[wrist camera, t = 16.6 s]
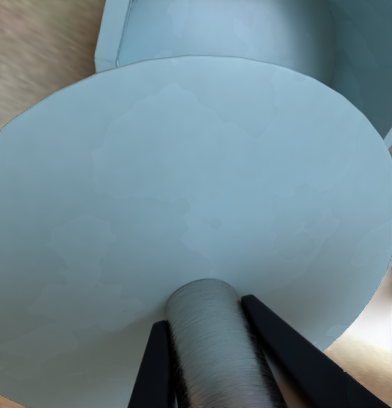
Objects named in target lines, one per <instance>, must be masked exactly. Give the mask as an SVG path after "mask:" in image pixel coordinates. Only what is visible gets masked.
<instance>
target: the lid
mask: <svg viewBox="0 0 392 408" xmlns="http://www.w3.org/2000/svg"><path fill="white" fill-rule="evenodd" d="M391 258H392V158H391V156H390V153H389V151H388V149H387V147H386V145H385V143H384V141H383V139H382V137H381V136H380V135H379V133H378V132H377V131H376V129H375V128H374V127H373V125H372V124H371V123H370V122H369V120H368V119H367V118H366V116H365V115H364V114H363V113H362V112H361V111H359V110H358V109H357V108H356V107H355V106H354V105H353V104H352V103H350V102H349V101H348V100H347V99H346V98H345V97H344V96H343V95H341V94H339V93H338V92H336V91H334V90H333V89H331V88H330V87H328V86H326V85H325V84H323V83H321V82H320V81H318V80H316V79H315V78H312V77H310V76H307V75H305V74H302V73H299V72H297V71H294V70H292V69H289V68H286V67H284V66H281V65H278V64H273V63H268V62H263V61H258V60H253V59H248V58H243V57H237V56H214V55H181V56H172V57H163V58H154V59H146V60H141V61H138V62H134V63H130V64H127V65H123V66H119V67H115V68H112V69H108V70H104V71H101V72H98V73H96V74H94V75H91V76H89V77H87V78H84V79H82V80H80V81H78V82H75V83H73V84H71V85H68V86H66V87H64V88H62V89H59V90H57V91H55V92H54V93H52V94H50V95H49V96H47V97H46V98H44V99H43V100H41V101H40V102H38V103H36V104H35V105H33V106H32V107H30V108H29V109H27V110H25V111H24V112H22V113H21V114H19V115H18V116H16V117H14V118H13V119H12V120H10V121H9V122H8V123H7V124H6V125H5V126H4V127H3V128H1V129H0V395H2V396H4V397H6V398H7V399H9V400H11V401H14V402H16V403H18V404H21V405H23V406H25V407H28V408H127V407H128V403H129V400H130V397H131V394H132V390H133V387H134V384H135V381H136V377H137V374H138V371H139V368H140V364H141V361H142V358H143V354H144V351H145V348H146V345H147V341H148V338H149V335H150V332H151V328H152V325H153V324H154V323H155V322H158V321H161V320H165V321H166V324H167V331H168V338H169V345H170V351H171V359H172V367H173V376H174V385H175V392H176V399H177V406H178V408H288V406H287V404H286V402H285V400H284V398H283V395H282V393H281V391H280V389H279V386H278V384H277V382H276V380H275V378H274V375H273V373H272V371H271V369H270V367H269V364H268V362H267V360H266V358H265V356H264V353H263V351H262V349H261V347H260V344H259V342H258V340H257V338H256V336H255V333H254V331H253V329H252V327H251V325H250V322H249V320H248V318H247V316H246V313H245V311H244V309H243V307H242V305H241V297H242V296H245V295H248V294H253V295H254V296H255V297H257V298H258V299H259V300H260V301H261V302H263V303H264V304H265V305H266V306H267V307H269V308H270V309H271V310H272V311H273V312H275V313H276V314H277V315H278V316H279V317H281V318H282V319H283V320H284V321H285V322H287V323H288V324H289V325H290V326H291V327H293V328H294V329H295V330H296V331H297V332H299V333H300V334H301V335H302V336H303V337H305V338H306V339H307V340H308V341H309V342H311V343H312V344H313V345H314V346H315V347H317V348H318V349H319V350H320V351H321V352H323V351H324V350H325V349H326V348H328V347H329V346H330V345H331V344H332V343H333V342H334V341H335V340H336V339H337V338H338V337H339V336H340V335H342V334H343V333H344V331H345V330H346V329H347V328H348V327H349V326H350V325H351V324H352V323H353V322H354V320H355V319H356V318H357V317H358V316H359V314H360V313H361V312H362V310H363V309H364V308H365V306H366V305H367V304H368V302H369V301H370V299H371V298H372V296H373V295H374V293H375V291H376V290H377V288H378V287H379V285H380V283H381V281H382V279H383V277H384V275H385V273H386V271H387V269H388V266H389V264H390V261H391Z"/></svg>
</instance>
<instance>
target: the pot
mask: <svg viewBox="0 0 392 408" xmlns="http://www.w3.org/2000/svg"><path fill="white" fill-rule="evenodd" d="M181 55H214V56H237V57H243V58H248V59H253V60H258V61H263V62H268V63H273V64H278V65H281V66H284V67H286V68H289V69H292V70H294V71H297V72H299V73H302V74H305V75H307V76H310V77H312V78H315V79H316V80H318V81H320V82H321V83H323V84H325V85H326V86H328V87H330V88H331V89H333V90H334V91H336V92H338V93H339V94H341V95H343V96H344V97H345V98H346V99H347V100H348V101H349V102H350V103H352V104H353V105H354V106H355V107H356V108H357V109H358V110H359V111H361V112H362V113H363V114H364V115H365V116H366V118H367V119H368V120H369V122H370V123H371V124H372V125H373V127H374V128H375V129H376V131H377V132H378V133H379V135H380V136H381V137H382V139H383V141H384V143H385V145H386V147H387V149H389V148H390V146H391V145H392V0H105V5H104V10H103V15H102V20H101V25H100V30H99V35H98V39H97V44H96V49H95V54H94V63H95V70H96V73H98V72H101V71H104V70H108V69H112V68H115V67H119V66H123V65H127V64H130V63H134V62H138V61H141V60H146V59H154V58H163V57H172V56H181Z"/></svg>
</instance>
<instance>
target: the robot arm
mask: <svg viewBox="0 0 392 408" xmlns="http://www.w3.org/2000/svg"><path fill="white" fill-rule="evenodd" d="M241 305H242V307H243V309H244V311H245V313H246V316H247V318H248V320H249V322H250V325H251V327H252V329H253V331H254V333H255V336H256V338H257V340H258V342H259V344H260V347H261V349H262V351H263V353H264V356H265V358H266V360H267V362H268V364H269V367H270V369H271V371H272V373H273V375H274V378H275V380H276V382H277V384H278V386H279V389H280V391H281V393H282V395H283V398H284V400H285V402H286V404H287V406H288V408H391V407H390V406H388V405H387V404H386V403H384V402H383V401H382V400H380V399H379V398H377V397H376V396H375V395H374V394H372V393H371V392H370V391H369V390H367V389H366V388H365V387H364V386H362V385H361V384H360V383H359V382H357V381H356V380H355V379H354V378H353V377H351V376H350V375H349V374H348V373H347V372H344V371H343V369H342V368H341V367H339V366H338V365H337V364H336V363H335V362H333V361H332V360H331V359H330V358H329V357H327V356H326V355H325V354H324V353H323V352H321V351H320V350H319V349H318V348H317V347H315V346H314V345H313V344H312V343H311V342H309V341H308V340H307V339H306V338H305V337H303V336H302V335H301V334H300V333H299V332H297V331H296V330H295V329H294V328H293V327H291V326H290V325H289V324H288V323H287V322H285V321H284V320H283V319H282V318H281V317H279V316H278V315H277V314H276V313H275V312H273V311H272V310H271V309H270V308H269V307H267V306H266V305H265V304H264V303H263V302H261V301H260V300H259V299H258V298H257V297H255V296H254V295H253V294H248V295H245V296H242V297H241ZM127 408H178V406H177V399H176V392H175V385H174V376H173V367H172V359H171V351H170V345H169V338H168V331H167V324H166V321H165V320H161V321H158V322H155V323H154V324H153V325H152V328H151V332H150V335H149V338H148V341H147V345H146V348H145V351H144V354H143V358H142V361H141V364H140V368H139V371H138V374H137V377H136V381H135V384H134V387H133V390H132V394H131V397H130V400H129V403H128V407H127Z"/></svg>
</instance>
